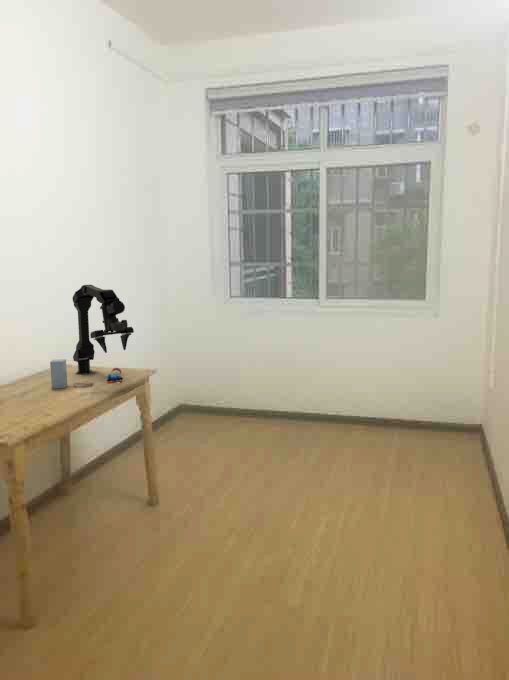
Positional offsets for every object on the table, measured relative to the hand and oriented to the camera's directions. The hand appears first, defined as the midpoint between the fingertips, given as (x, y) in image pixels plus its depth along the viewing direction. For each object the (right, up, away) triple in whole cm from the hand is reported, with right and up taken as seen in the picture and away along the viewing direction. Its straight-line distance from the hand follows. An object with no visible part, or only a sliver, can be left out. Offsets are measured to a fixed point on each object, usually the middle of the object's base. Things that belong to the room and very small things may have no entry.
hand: (115, 351), depth 248 cm
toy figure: (-3, -14, +13) cm, 19 cm away
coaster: (-15, -15, +2) cm, 22 cm away
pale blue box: (-25, -16, 0) cm, 30 cm away
